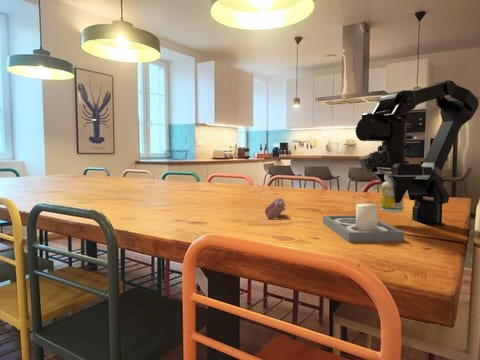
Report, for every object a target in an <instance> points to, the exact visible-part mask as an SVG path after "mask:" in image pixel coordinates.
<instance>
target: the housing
mask: <svg viewBox="0 0 480 360" xmlns="http://www.w3.org/2000/svg"><path fill="white" fill-rule="evenodd" d="M322 224H323V225H325V226H326V227H327V228H328V229H330V230H331V231H332V232H334V233H335V234H337V235H338V236H340V237H341V238H342V239H343V240H345V241H347V242H348V243H373V242H374V243H376V242H377V243H381V242H384V243H386V242H390V243H391V242H405V231H403V230H401V229H399V228H397V227H394V226H392V225H389V224H387V223H386V222H383V221H381V220H379V219H377V231H356V214H355V215H354V214H353V215H347V214H346V215H323V216H322Z"/></svg>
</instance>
